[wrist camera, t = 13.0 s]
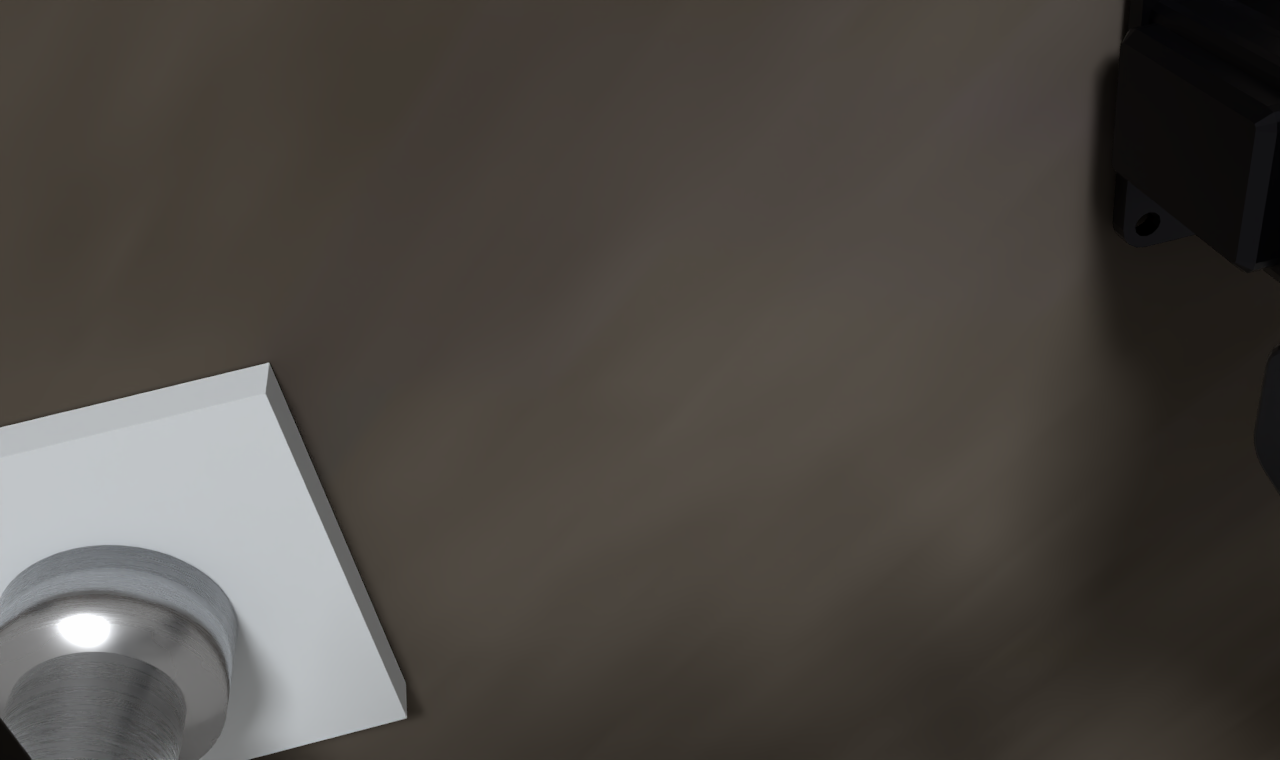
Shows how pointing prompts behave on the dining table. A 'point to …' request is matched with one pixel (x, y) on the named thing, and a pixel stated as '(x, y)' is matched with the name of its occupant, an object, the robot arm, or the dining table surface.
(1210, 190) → the robot arm
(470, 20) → the dining table surface
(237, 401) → the rubber mat
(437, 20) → the dining table surface
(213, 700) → the silver metal peg
